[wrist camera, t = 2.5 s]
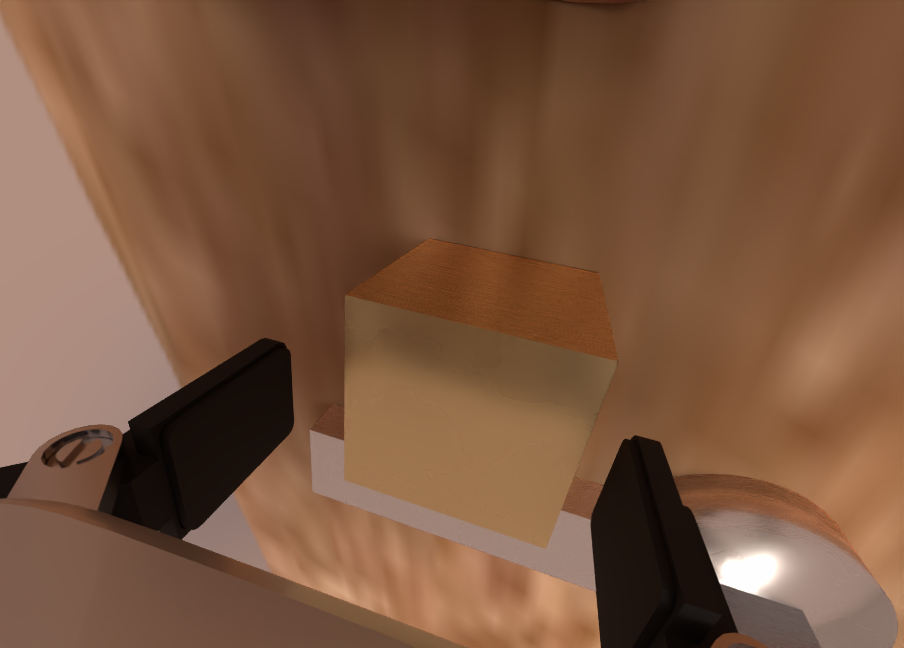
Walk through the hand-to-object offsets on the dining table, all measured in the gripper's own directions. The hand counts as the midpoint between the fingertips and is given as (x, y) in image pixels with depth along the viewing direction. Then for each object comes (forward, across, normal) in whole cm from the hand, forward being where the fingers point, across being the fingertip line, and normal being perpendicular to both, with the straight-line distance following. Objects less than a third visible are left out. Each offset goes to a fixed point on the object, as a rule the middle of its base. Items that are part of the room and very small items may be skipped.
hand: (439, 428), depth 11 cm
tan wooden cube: (+5, -1, -1) cm, 5 cm away
